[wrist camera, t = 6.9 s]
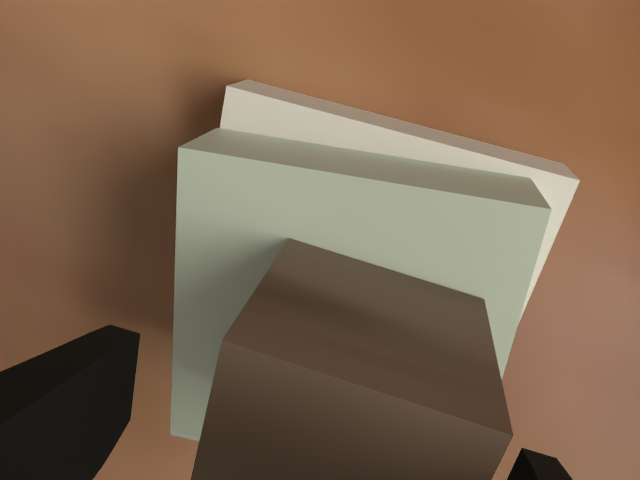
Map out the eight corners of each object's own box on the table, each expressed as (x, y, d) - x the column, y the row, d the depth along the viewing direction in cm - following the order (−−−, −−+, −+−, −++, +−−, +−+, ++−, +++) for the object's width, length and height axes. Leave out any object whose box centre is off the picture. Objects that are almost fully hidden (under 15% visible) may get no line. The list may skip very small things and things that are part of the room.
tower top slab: (460, 436, 17) (465, 502, 14) (203, 380, 18) (170, 434, 15) (530, 178, 14) (552, 209, 11) (216, 127, 15) (177, 147, 12)
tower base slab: (456, 407, 19) (460, 459, 17) (208, 332, 20) (179, 372, 18) (557, 157, 16) (580, 180, 14) (254, 77, 17) (226, 85, 14)
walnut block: (419, 452, 14) (415, 629, 10) (248, 395, 14) (176, 543, 10) (484, 298, 12) (512, 435, 8) (289, 238, 13) (221, 339, 8)
